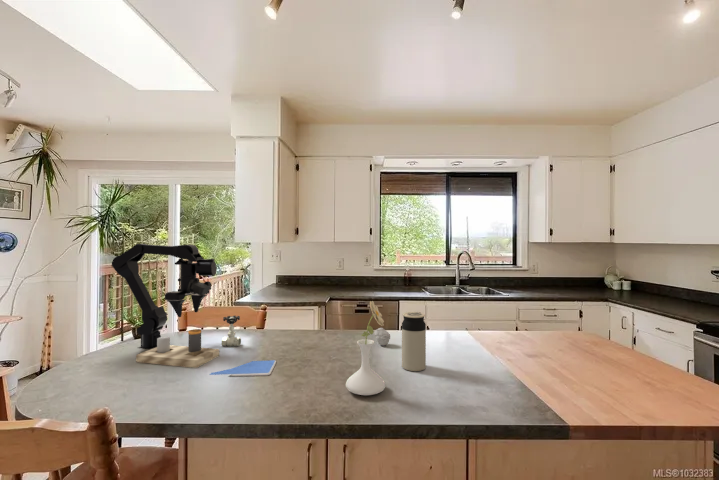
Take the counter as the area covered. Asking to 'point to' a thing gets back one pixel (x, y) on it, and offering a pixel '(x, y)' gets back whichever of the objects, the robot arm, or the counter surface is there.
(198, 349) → the capped plug
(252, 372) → the tablet computer
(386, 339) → the crumpled paper ball
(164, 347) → the grey plug
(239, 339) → the valve
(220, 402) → the counter surface
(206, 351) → the wooden socket board
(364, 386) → the flower in vase
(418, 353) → the travel mug
